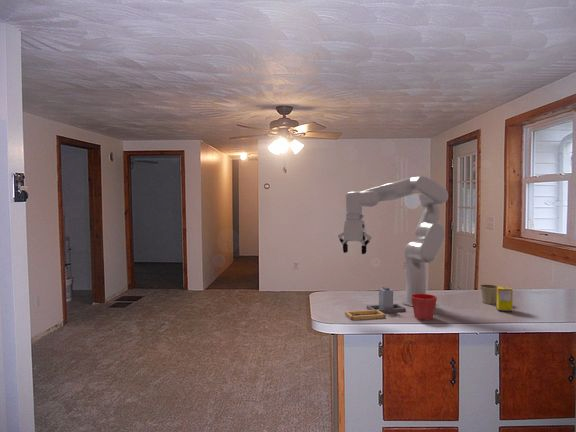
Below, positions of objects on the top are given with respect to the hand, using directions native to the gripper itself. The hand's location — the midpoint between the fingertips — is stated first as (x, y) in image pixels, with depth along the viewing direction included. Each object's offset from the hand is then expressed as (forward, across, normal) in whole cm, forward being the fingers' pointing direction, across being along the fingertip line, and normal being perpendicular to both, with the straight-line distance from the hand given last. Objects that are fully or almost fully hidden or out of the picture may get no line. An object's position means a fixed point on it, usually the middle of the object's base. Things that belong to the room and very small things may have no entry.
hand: (354, 253), depth 191 cm
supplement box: (+29, -58, -40) cm, 76 cm away
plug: (+27, -13, -7) cm, 31 cm away
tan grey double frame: (+27, -11, +1) cm, 29 cm away
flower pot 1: (+28, -31, -5) cm, 42 cm away
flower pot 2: (+29, -50, -52) cm, 77 cm away
